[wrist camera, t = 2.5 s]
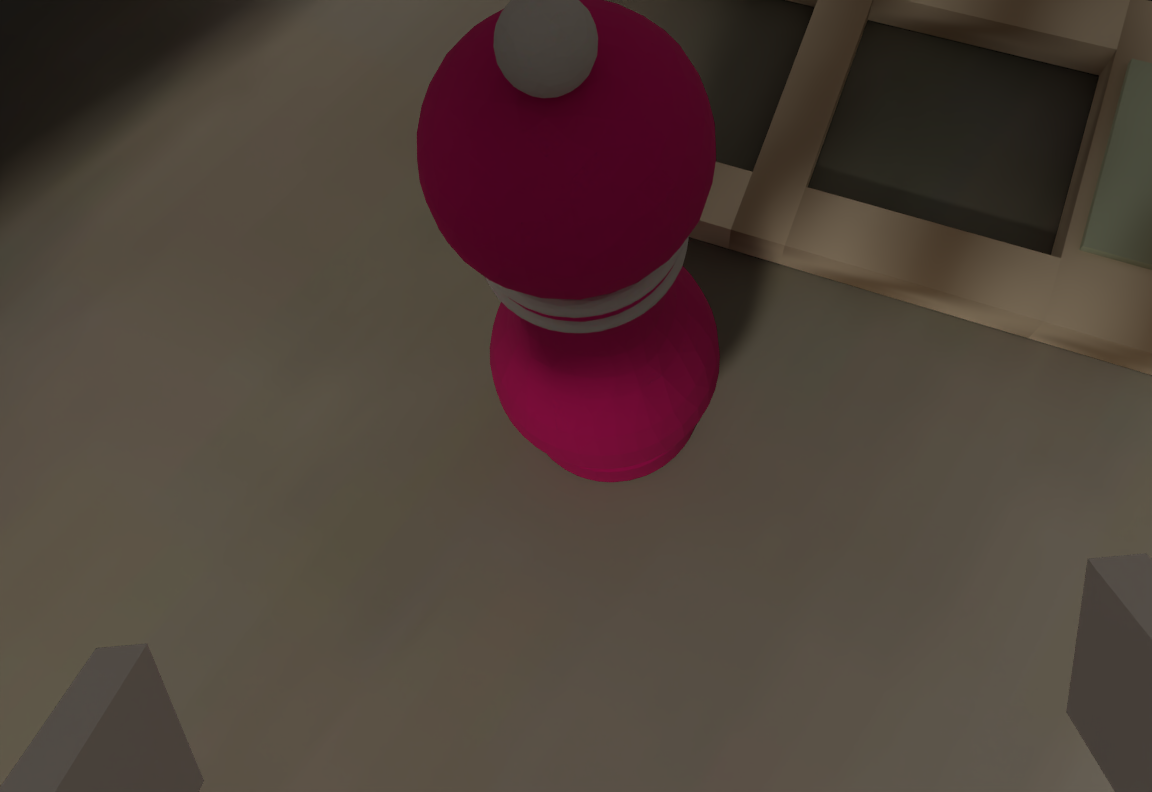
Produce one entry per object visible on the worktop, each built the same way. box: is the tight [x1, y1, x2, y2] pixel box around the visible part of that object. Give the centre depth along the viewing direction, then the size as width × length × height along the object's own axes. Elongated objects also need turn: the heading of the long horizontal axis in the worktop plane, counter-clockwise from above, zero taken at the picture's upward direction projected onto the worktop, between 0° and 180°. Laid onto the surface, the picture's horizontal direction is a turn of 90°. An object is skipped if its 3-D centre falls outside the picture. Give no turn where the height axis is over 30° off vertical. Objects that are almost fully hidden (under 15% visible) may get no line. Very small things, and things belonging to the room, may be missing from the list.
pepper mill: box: [417, 0, 720, 482], centre depth 25 cm, size 7×7×20 cm
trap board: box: [689, 0, 1152, 375], centre depth 35 cm, size 30×14×2 cm, turn 69°
